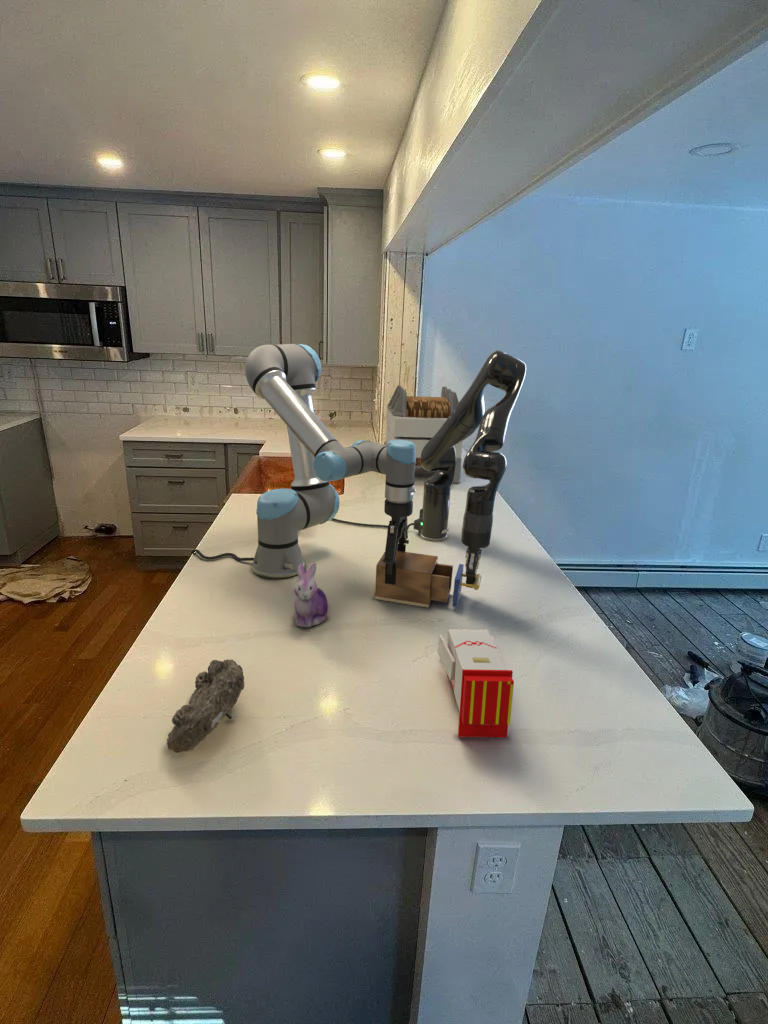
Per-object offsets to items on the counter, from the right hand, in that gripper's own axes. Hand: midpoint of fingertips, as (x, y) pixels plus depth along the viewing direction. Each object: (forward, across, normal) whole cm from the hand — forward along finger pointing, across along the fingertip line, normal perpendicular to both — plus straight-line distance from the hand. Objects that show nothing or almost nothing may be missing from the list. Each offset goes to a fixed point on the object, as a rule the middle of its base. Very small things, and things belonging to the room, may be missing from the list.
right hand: (469, 586), depth 153 cm
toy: (+5, -38, -5) cm, 39 cm away
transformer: (+6, +123, +37) cm, 129 cm away
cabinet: (+6, 0, +17) cm, 18 cm away
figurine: (+6, -21, +37) cm, 43 cm away
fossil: (+6, -61, +42) cm, 74 cm away
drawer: (+4, 0, +7) cm, 8 cm away
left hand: (0, 0, +21) cm, 21 cm away
